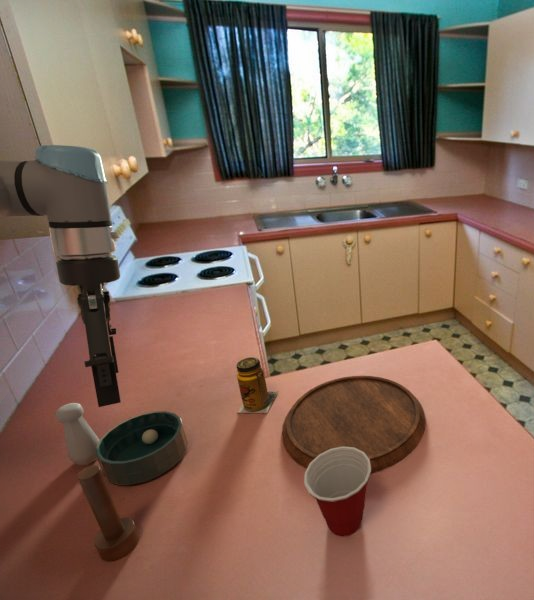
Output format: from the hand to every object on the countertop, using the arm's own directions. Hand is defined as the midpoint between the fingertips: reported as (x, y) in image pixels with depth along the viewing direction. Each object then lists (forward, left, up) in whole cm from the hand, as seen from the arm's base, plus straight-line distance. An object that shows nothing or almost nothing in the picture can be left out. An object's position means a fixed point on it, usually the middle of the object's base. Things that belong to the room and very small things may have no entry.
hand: (109, 387), depth 68 cm
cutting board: (+40, +9, -25) cm, 48 cm away
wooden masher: (-3, -8, -25) cm, 26 cm away
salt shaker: (-15, +16, -25) cm, 33 cm away
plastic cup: (+33, -16, -25) cm, 44 cm away
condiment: (+19, +24, -25) cm, 40 cm away
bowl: (-3, +12, -25) cm, 28 cm away
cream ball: (-3, +16, -23) cm, 28 cm away
